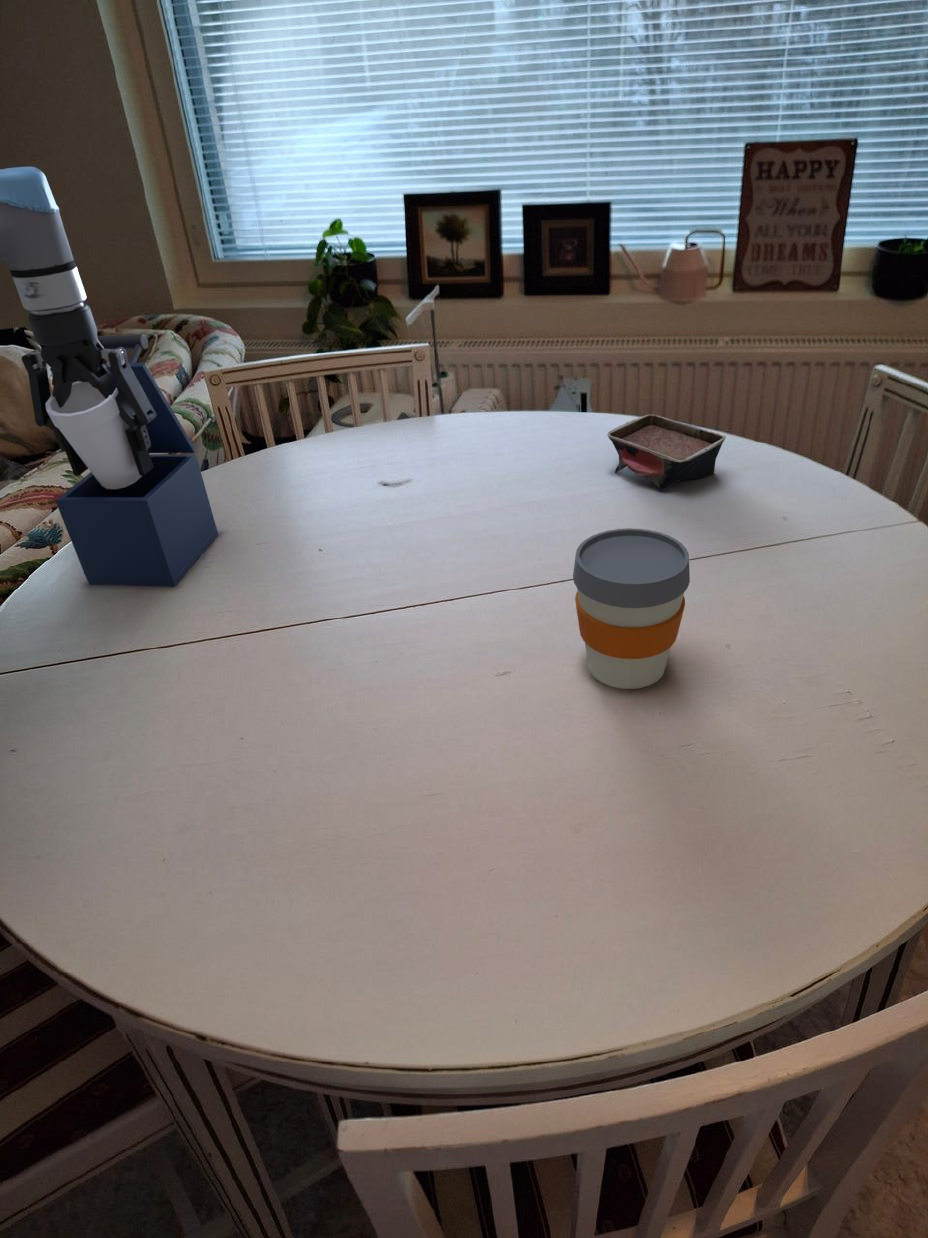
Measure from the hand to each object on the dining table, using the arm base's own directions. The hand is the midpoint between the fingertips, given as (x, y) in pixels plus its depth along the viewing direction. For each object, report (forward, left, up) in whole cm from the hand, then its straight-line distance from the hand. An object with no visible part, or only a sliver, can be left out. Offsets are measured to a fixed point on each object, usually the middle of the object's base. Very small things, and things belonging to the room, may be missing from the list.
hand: (114, 471), depth 114 cm
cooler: (0, +3, -16) cm, 16 cm away
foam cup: (0, +1, -2) cm, 2 cm away
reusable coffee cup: (+72, -20, -16) cm, 76 cm away
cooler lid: (0, +7, +6) cm, 9 cm away
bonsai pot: (+79, +34, -16) cm, 87 cm away
